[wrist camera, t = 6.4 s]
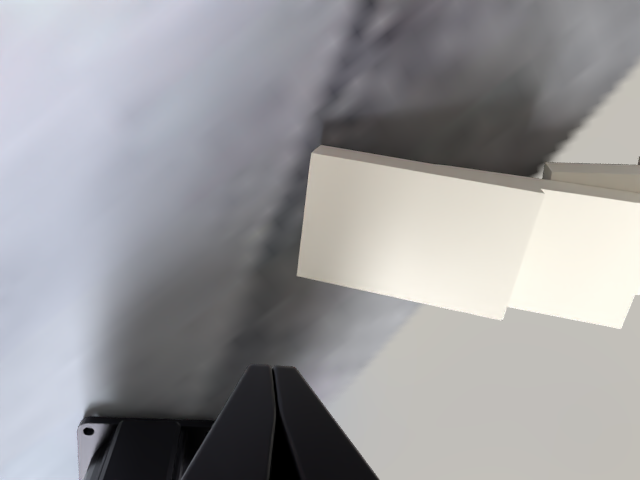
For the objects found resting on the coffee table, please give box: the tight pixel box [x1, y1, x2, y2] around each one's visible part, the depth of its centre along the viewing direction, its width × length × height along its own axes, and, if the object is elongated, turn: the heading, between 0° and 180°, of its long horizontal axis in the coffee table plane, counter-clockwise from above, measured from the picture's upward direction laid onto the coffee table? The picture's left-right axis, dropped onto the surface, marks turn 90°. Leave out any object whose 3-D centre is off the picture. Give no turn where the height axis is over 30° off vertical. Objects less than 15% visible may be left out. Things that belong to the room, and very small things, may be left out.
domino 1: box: [297, 145, 545, 320], centre depth 18 cm, size 5×2×8 cm
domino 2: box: [437, 164, 640, 329], centre depth 18 cm, size 5×2×8 cm
